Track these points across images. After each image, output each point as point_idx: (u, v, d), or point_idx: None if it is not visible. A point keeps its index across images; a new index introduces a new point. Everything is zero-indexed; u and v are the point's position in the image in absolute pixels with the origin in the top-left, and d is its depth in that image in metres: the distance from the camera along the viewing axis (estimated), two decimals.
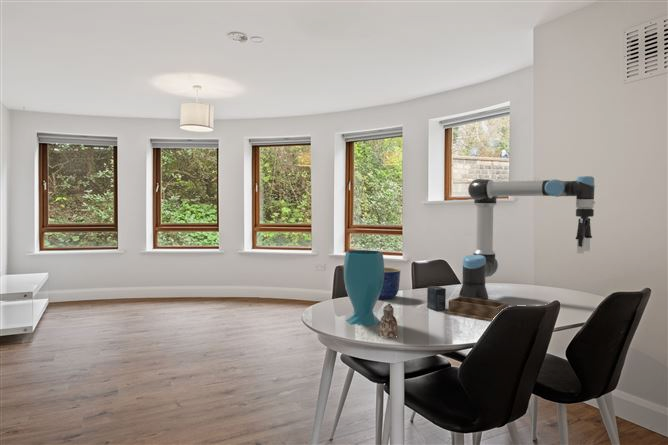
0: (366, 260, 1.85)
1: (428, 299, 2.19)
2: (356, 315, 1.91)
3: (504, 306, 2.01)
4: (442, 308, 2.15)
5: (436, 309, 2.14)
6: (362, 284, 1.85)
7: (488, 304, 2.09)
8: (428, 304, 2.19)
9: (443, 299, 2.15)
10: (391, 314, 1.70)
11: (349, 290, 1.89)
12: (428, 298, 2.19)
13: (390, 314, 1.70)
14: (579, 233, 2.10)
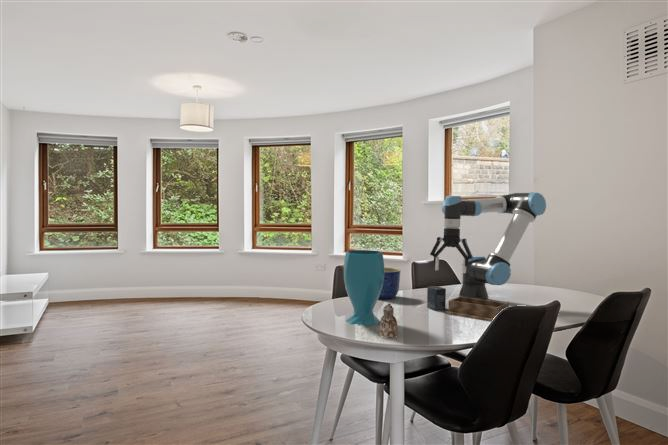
0: (366, 260, 1.85)
1: (428, 299, 2.19)
2: (356, 315, 1.91)
3: (504, 306, 2.01)
4: (442, 308, 2.15)
5: (436, 309, 2.14)
6: (362, 284, 1.85)
7: (488, 304, 2.09)
8: (428, 304, 2.19)
9: (443, 299, 2.15)
10: (391, 314, 1.70)
11: (349, 290, 1.89)
12: (428, 298, 2.19)
13: (390, 314, 1.70)
14: None
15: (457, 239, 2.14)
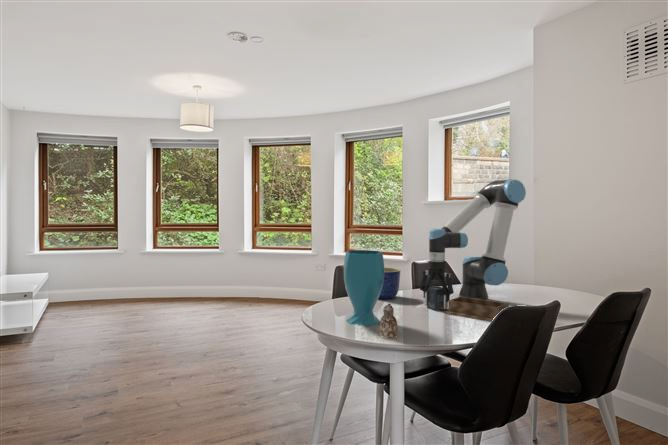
0: (366, 260, 1.85)
1: (428, 299, 2.19)
2: (356, 315, 1.91)
3: (504, 306, 2.01)
4: (442, 308, 2.15)
5: (436, 309, 2.14)
6: (362, 284, 1.85)
7: (488, 304, 2.09)
8: (428, 304, 2.19)
9: (443, 299, 2.15)
10: (391, 314, 1.70)
11: (349, 290, 1.89)
12: (428, 298, 2.19)
13: (390, 314, 1.70)
14: None
15: (441, 272, 2.14)
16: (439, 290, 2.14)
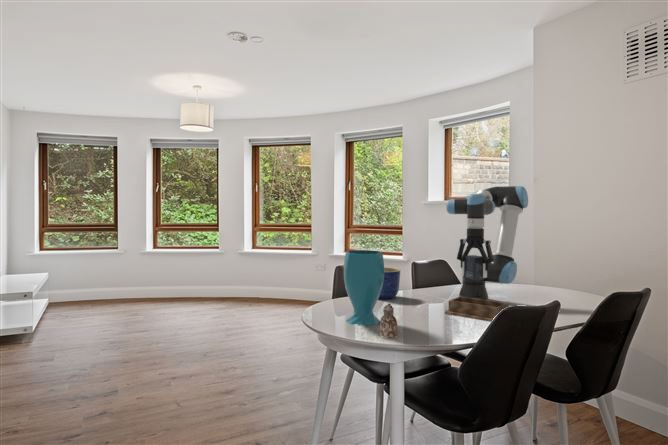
0: (366, 260, 1.85)
1: (465, 268, 2.08)
2: (356, 315, 1.91)
3: (504, 306, 2.01)
4: (481, 277, 2.03)
5: (475, 278, 2.02)
6: (362, 284, 1.85)
7: (488, 304, 2.09)
8: (465, 273, 2.08)
9: (482, 268, 2.03)
10: (391, 314, 1.70)
11: (349, 290, 1.89)
12: (465, 267, 2.08)
13: (390, 314, 1.70)
14: None
15: (480, 240, 2.03)
16: (478, 258, 2.03)
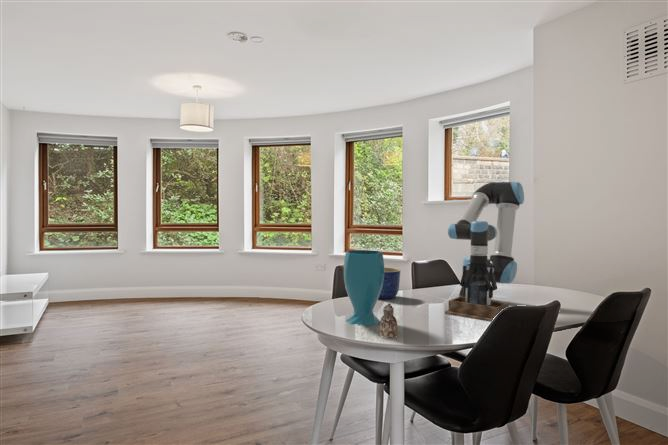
0: (366, 260, 1.85)
1: (469, 295, 2.08)
2: (356, 315, 1.91)
3: (504, 306, 2.01)
4: (485, 305, 2.03)
5: None
6: (362, 284, 1.85)
7: None
8: (469, 300, 2.08)
9: (486, 295, 2.03)
10: (391, 314, 1.70)
11: (349, 290, 1.89)
12: (469, 294, 2.08)
13: (390, 314, 1.70)
14: None
15: (484, 267, 2.03)
16: (482, 286, 2.02)
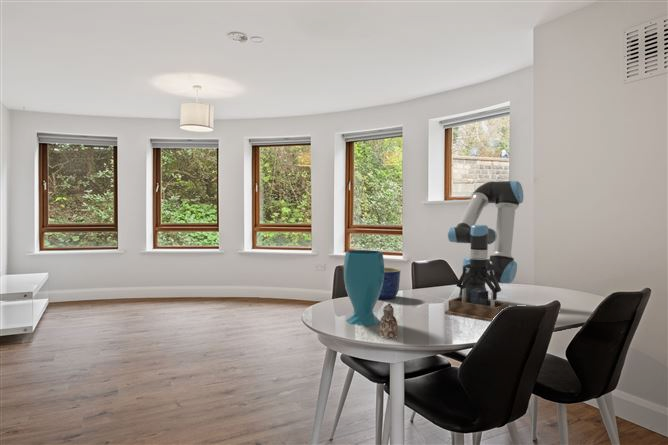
0: (366, 260, 1.85)
1: (469, 302, 2.08)
2: (356, 315, 1.91)
3: (504, 306, 2.01)
4: None
5: None
6: (362, 284, 1.85)
7: (488, 304, 2.09)
8: None
9: (486, 302, 2.03)
10: (391, 314, 1.70)
11: (349, 290, 1.89)
12: (469, 301, 2.08)
13: (390, 314, 1.70)
14: None
15: (484, 271, 2.03)
16: (482, 293, 2.02)
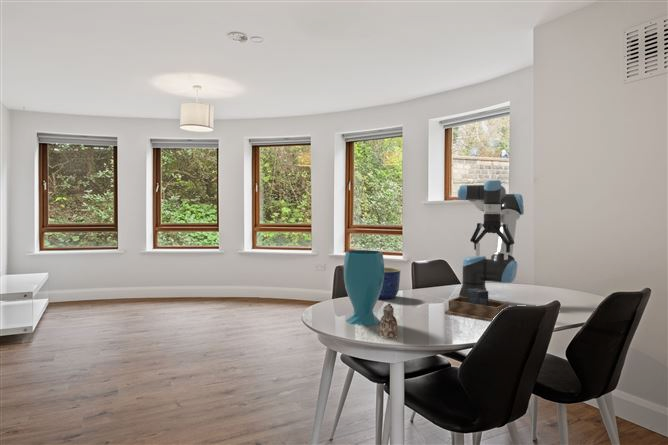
0: (366, 260, 1.85)
1: (469, 302, 2.08)
2: (356, 315, 1.91)
3: (504, 306, 2.01)
4: None
5: None
6: (362, 284, 1.85)
7: (488, 304, 2.09)
8: None
9: (486, 302, 2.03)
10: (391, 314, 1.70)
11: (349, 290, 1.89)
12: (469, 301, 2.08)
13: (390, 314, 1.70)
14: None
15: (498, 225, 2.08)
16: (482, 293, 2.02)
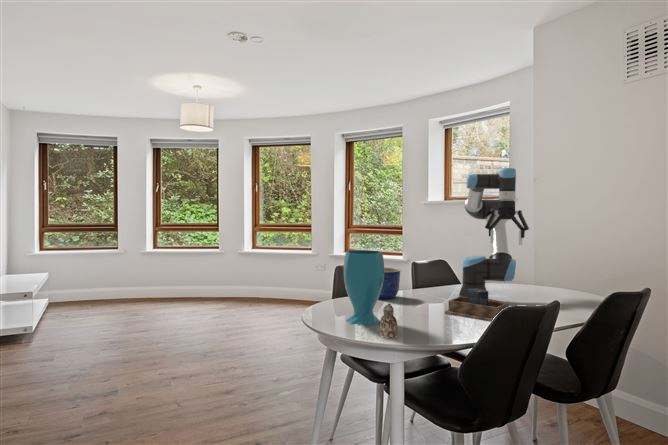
0: (366, 260, 1.85)
1: (469, 302, 2.08)
2: (356, 315, 1.91)
3: (504, 306, 2.01)
4: None
5: None
6: (362, 284, 1.85)
7: (488, 304, 2.09)
8: None
9: (486, 302, 2.03)
10: (391, 314, 1.70)
11: (349, 290, 1.89)
12: (469, 301, 2.08)
13: (390, 314, 1.70)
14: None
15: (512, 211, 2.15)
16: (482, 293, 2.02)
